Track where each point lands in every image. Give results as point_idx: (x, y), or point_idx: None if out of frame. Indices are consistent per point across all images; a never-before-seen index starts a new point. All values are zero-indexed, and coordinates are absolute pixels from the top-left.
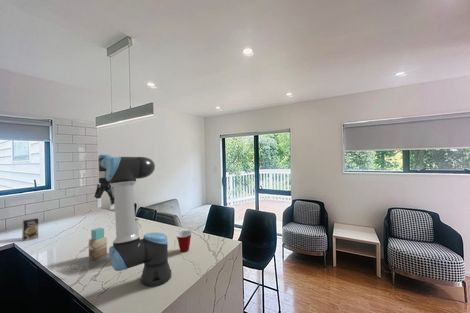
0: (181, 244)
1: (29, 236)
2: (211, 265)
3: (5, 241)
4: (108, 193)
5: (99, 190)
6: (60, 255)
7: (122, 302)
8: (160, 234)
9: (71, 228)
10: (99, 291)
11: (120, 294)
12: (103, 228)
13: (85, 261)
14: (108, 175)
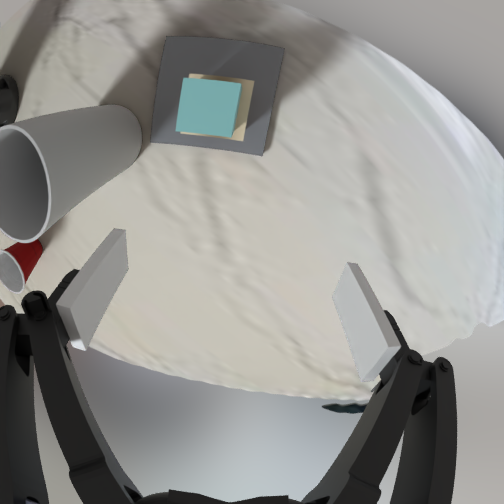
0: (16, 243)
1: None
2: None
3: None
4: (60, 410)
5: (370, 489)
6: (409, 124)
7: (11, 26)
8: None
9: (488, 305)
10: (65, 8)
11: (24, 32)
12: (178, 128)
13: (244, 68)
14: None
